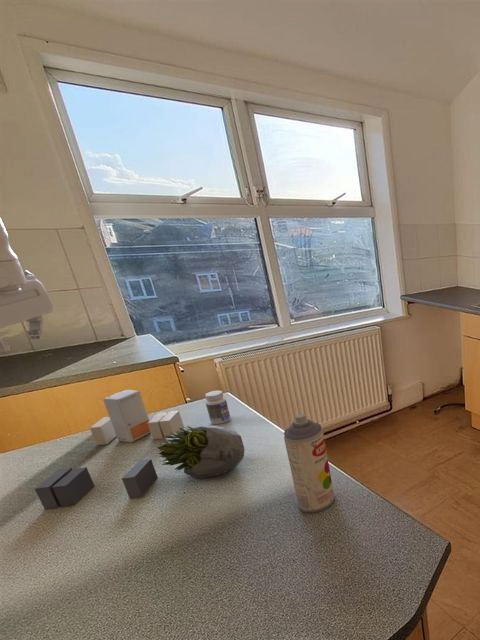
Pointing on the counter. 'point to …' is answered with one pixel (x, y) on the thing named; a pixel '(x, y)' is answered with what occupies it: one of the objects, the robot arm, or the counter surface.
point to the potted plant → (203, 450)
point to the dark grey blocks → (91, 484)
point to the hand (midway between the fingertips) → (21, 344)
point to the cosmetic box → (127, 415)
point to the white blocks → (157, 425)
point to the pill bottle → (217, 407)
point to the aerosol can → (309, 465)
